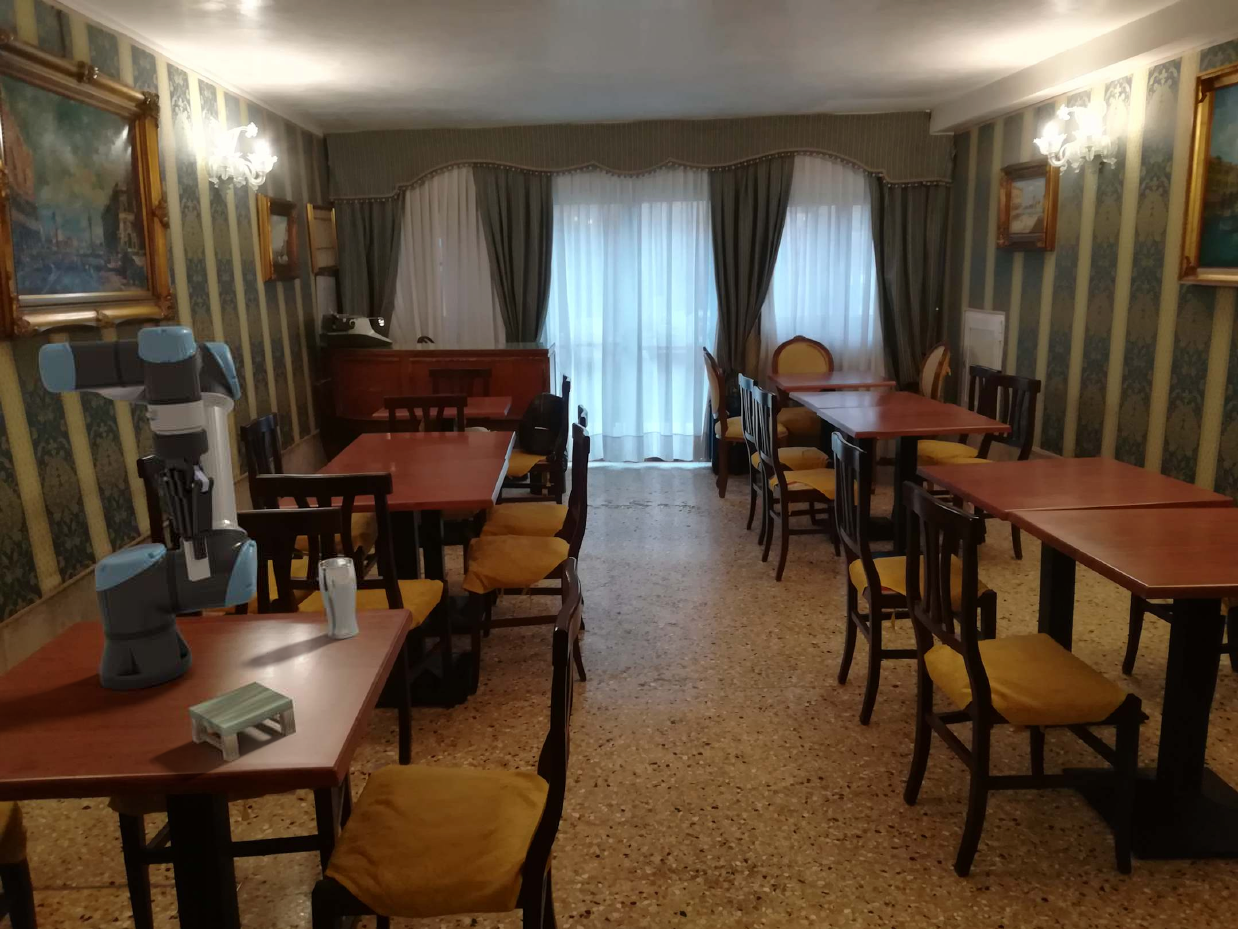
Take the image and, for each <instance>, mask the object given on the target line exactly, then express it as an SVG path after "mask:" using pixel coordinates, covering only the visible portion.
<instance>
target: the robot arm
mask: <svg viewBox="0 0 1238 929" xmlns="http://www.w3.org/2000/svg"><path fill="white" fill-rule="evenodd" d="M137 333H138V334H137V338H135V339H134V338H132V339H130V338H129V339H116V340H100V341H98V340H96V341H95V340H94V341H76V342H67V341H61V342H59V343H48V344H44V345H42V346H41V348H39V352H38V367H39V373H40V378H41V382H42V384H43V385H44V387H45V389H46V390H48V392H50V393H67V394H70V393H75V392H93V393H98V394H100V395H101V396H103V397H105V398H106V399H110V400H112V401H118V402H124V403H130V404H131V403H132V404H140V405H147V412H145V416H146V418H147V419H149V422H150V429H151V430H152V431H154V433H153V434H152V435H151V440H152V449H153V454H154V457H155V458H157V459H160V460H165V470H162V471H159V472H158V478H159V480H160V483H161V485H162V487H163V491H164V495H165V498H166V502H167V507H168V510H169V515H170V517H171V522H172V526H173V530H174V533H176V534H177V533H179V535H180V539H179V544H180V545H179V546H180V549H176V550H170V551H169V550H168V551H167V547H165V545H164V544H163V543H159V542H156V543H151V542H150V543H142V544H138V545H134V546H130V547H127V548H124V549H121V550H118V551H116V552H114V553H111V554H109V555H106V556H105V557H104V558H102V559H100V560H99V561H98V562H97V564H96V566H95V567H94V577H95V578H94V579H95V580H94V581H95V587H94V589H95V591H96V593H97V599H98V605H99V606H98V607H99V611H100V616H101V624H102V629H103V636H104V645H103V650H102V653H101V654H102V655H101V659H100V665H99V668H98V670H99V671H98V674H99V679H100V684H101V685H102V686H103V687H104V688H107V689H110V690H116V691H117V690H119V691H129V690H138V689H144V688H148V687H153V686H157V685H160V684H164V683H167V682H169V681H172V680H174V679H176V678H178V677H180V676H182V675H183V674H185V673H187V671H189V670H190V669H191V667H192V665H193V655H192V652H191V648H190V647H189V645H188V644H187V642H186V640H185V638H184V636H183V634H182V632H181V631H180V629H179V628H178V626H177V619H176V615H180V614H185V613H186V614H187V613H192V612H200V611H207V610H213V609H220V608H230V607H233V606H238V605H242V604H246V603H249V602H250V601H251V600H253V598H254V597H255V594H256V589H257V577H258V576H257V574H258V555H257V554H258V552H257V551H258V549H257V548H258V547H257V543H256V541H255V540H252V539H248V533H247V531H246V530H244V528H242V527H241V526H239V525H238V515H237V506H236V497H235V496H236V495H235V486H234V485H235V484H234V476H233V466H232V465H233V464H232V455H231V454H232V453H231V445H230V444H231V443H230V437H229V436H230V435H229V434H230V433H229V425H228V416H227V415H228V414H229V413H230V412H231V411H232V410H233V409H234V406H235V403H234V402H235V401H234V400H238V399H239V398H240V397H241V389H240V386H239V385H240V384H239V380H238V377H237V373H236V368H235V365H234V361H233V357H232V353H231V350H230V347H229V346H228V345H227V344H225V343H223V342H221V341H220V342H219V341H215V342H214V341H213V342H212V341H211V342H207V341H201V342H195V338H194V332H193V330H192V329H191V328H190V327H188V326H181V325H180V326H179V325H178V326H177V325H176V326H175V325H174V326H156V327H147V328H146V327H145V328H141V329H140V330H139V331H138V332H137Z"/></svg>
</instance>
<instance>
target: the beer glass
mask: <svg viewBox="0 0 1238 929" xmlns="http://www.w3.org/2000/svg"><path fill="white" fill-rule="evenodd" d="M318 582H319V590H320V595H321V600H322V602H323V605H324V608H325V612H326V616H327V638H329V639H331V640H345V639H349V638H352V637H355V636H356V635H358V634H359V632H360V628H359V626H358V622H357V618H356V601H357V576H356V571H355V566H354V559H353V558H349V557H334V558H329V559H328V558H327V559H324V560H323V561H320V562H319V563H318Z"/></svg>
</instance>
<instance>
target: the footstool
mask: <svg viewBox="0 0 1238 929" xmlns="http://www.w3.org/2000/svg"><path fill="white" fill-rule="evenodd" d="M188 714H189V721H190V728H191V737H192V741H193V742H195V743H197V744H200V743H202V742H203V743H204V742H208V743H209V744H211V745H212V746H214V747H216V748H217V749H219V750H221V751H222V754H223V759H224V760H225V761H227V763H231V762H233V761H235V760H237V759H239V758H241V757H240V751H239V743H238V737H237V734H238V733H239V732H242V731H244V730H246V729H249V728H251V727H253V726H255V725H259V724H260V723H262V722H264V721H267V720H269V721H271V722H273V723H275V724H278V725H279V726H280V732H281V734H283V735H285V736H290V735H291V734H294V733H296V732H297V728H296V721H295V720H296V719H295V711H294V704H293V698H291V697H288V696H286V695H283V694H281V693H279V692H278V691H275V690H273V689H271V688H269V687H267V686H264V685H263V684H260V683H258V682H256V681H254V682H251V683H248V684H245V685H243V686H241V687H238V688H235V689H233V690H230V691H228V692H225V693H222V694H221V695H218V696H216V697H215V696H214V697H213V698H210V699H208V700H205V701H203V702H200V703H198V704H195V705H193V706H190V707H188ZM208 728H209V729H210V730H211V731H214V732H215V733H217V734H219V735H220V738H218V737H217V736H215V735H213V734H212V733H209V732H208Z"/></svg>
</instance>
